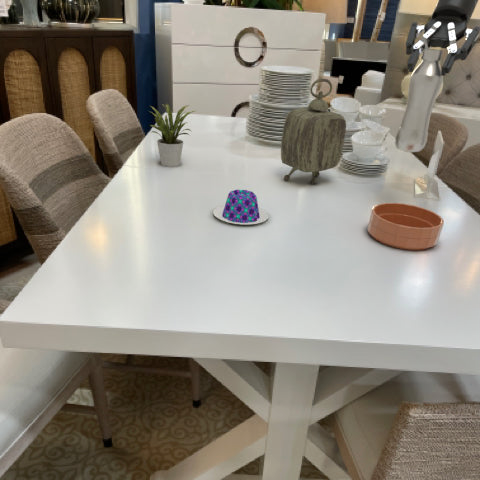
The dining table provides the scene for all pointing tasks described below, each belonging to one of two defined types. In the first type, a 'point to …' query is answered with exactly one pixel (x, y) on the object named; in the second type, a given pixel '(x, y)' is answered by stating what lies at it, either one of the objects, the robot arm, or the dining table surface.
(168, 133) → the house plant
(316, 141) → the tabletop clock
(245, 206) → the pudding
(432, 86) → the plastic bottle
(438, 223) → the pan
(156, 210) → the dining table surface
